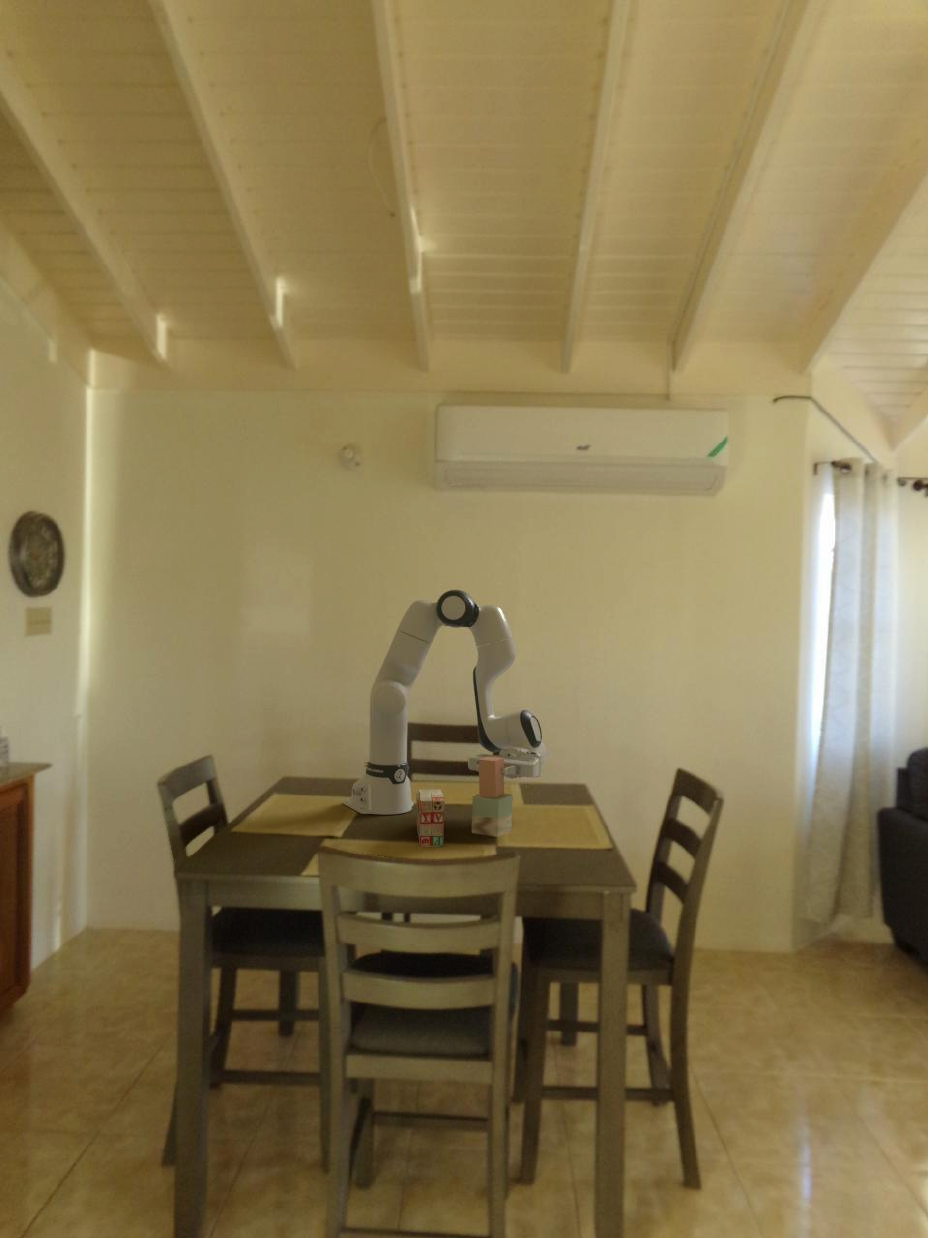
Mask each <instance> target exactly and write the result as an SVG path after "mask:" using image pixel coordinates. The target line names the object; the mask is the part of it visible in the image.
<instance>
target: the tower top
mask: <svg viewBox="0 0 928 1238" xmlns="http://www.w3.org/2000/svg"><path fill="white" fill-rule="evenodd" d="M513 798H514V797H513V794H511V793H504V795H502V796H500V797H497V798H490V797H480V796H479V793H478V794H476V795H473V796H472V804H471V807H472V811H471V812H472V813H471V816H472V815H477V816H483V817H489V818H495V819H500V818H502V817H504V816H506V815H509V814H511V813H512V814H513Z"/></svg>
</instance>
